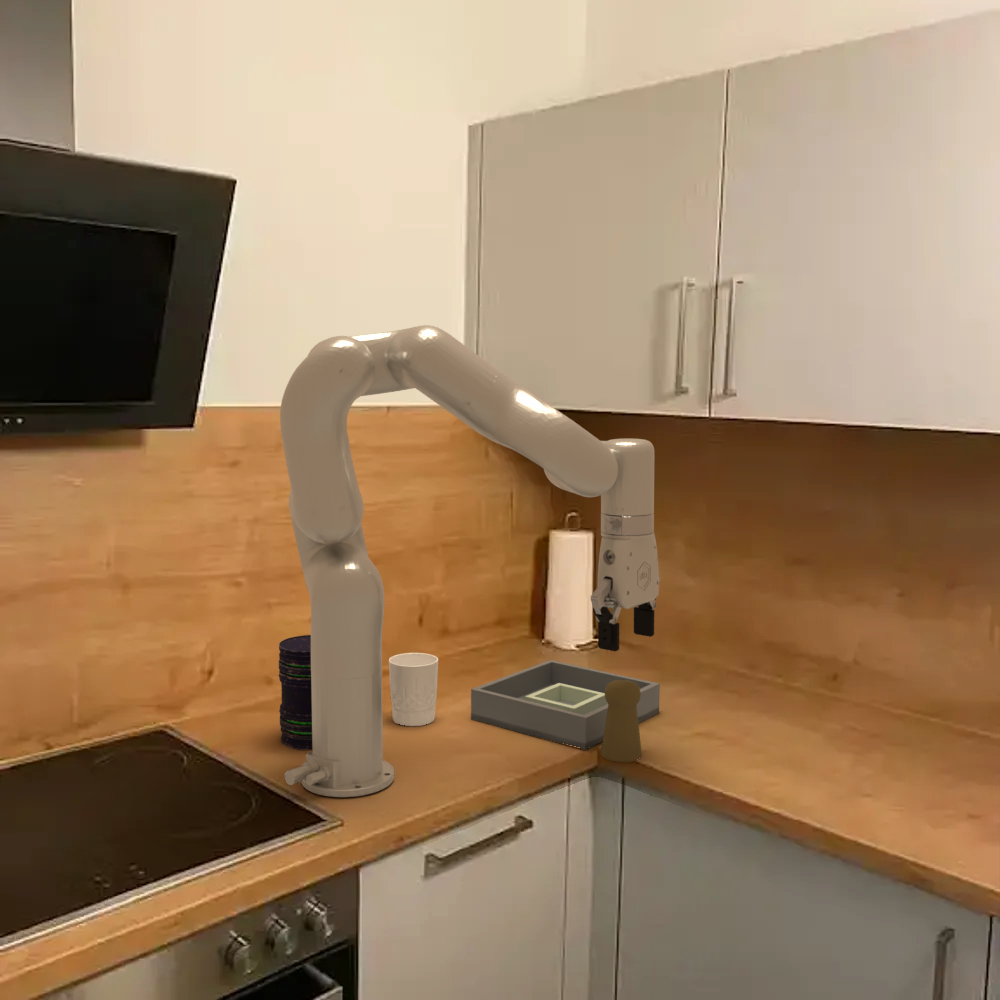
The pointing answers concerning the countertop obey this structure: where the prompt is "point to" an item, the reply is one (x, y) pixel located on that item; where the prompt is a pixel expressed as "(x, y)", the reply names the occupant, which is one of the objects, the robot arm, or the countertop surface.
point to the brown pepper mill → (622, 722)
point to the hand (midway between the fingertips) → (626, 642)
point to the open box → (556, 702)
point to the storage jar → (296, 692)
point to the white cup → (413, 688)
